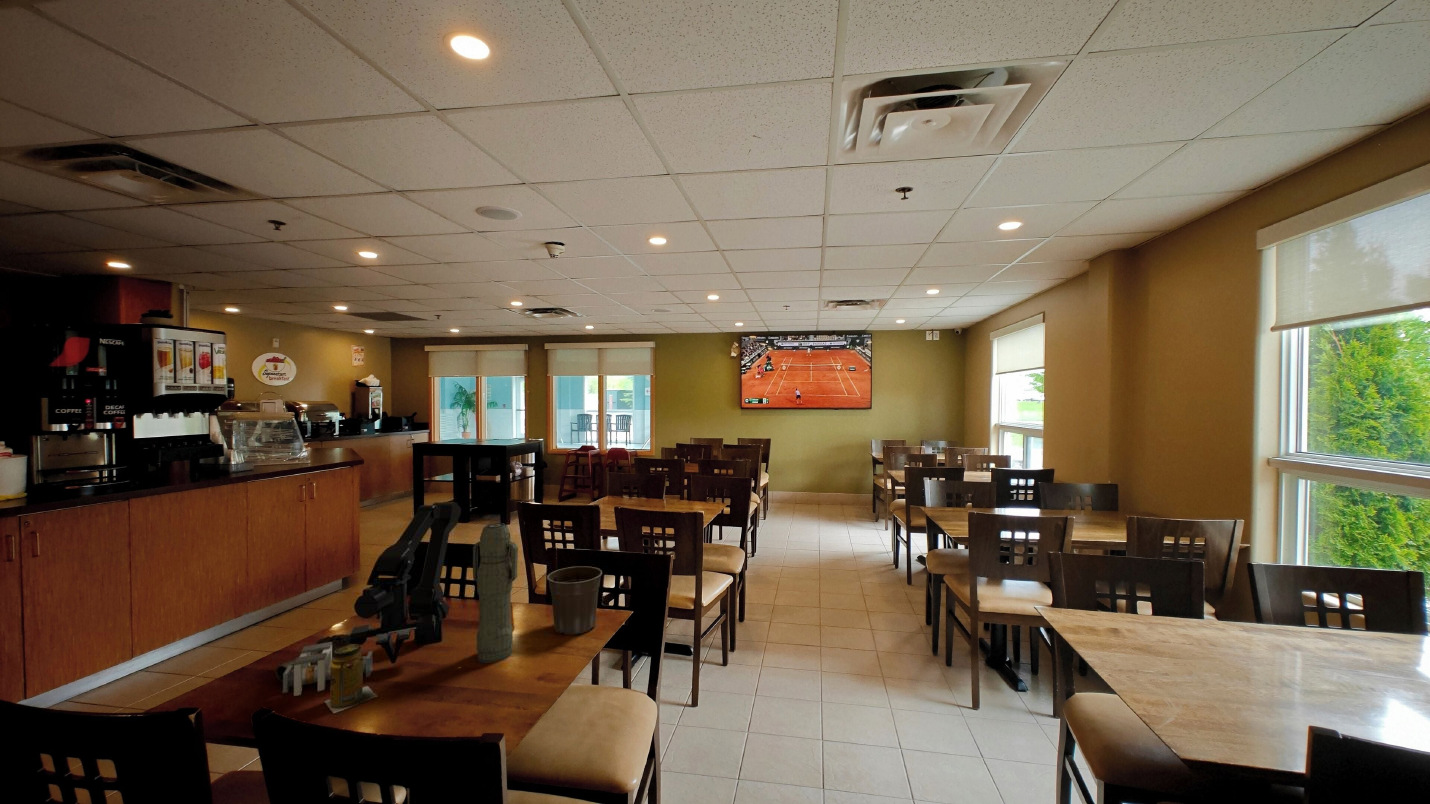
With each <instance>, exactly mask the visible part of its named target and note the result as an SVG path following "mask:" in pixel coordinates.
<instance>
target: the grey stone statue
mask: <svg viewBox="0 0 1430 804" xmlns="http://www.w3.org/2000/svg"><path fill="white" fill-rule="evenodd" d="M510 553H511V556H510ZM518 553H519V547H518V545H517V544H516V542H512V540H511V531H510V530H509V526H508V525H507V524H505V523H503V522H502V523H501V522H495V523H489V524H486V525H485V526H483V527H482V530H481V534H480V538H479V541H477V542H475V544H474V545H473V547H472V577H473V581H474V582H475V583H476V584H477V586H476V591H477V594H478V599H479V600H478V606H479V607H478V611H479V612H478V630H477V633H476V650H477V657H476V659H477V660H478V661H479V662H480V663H484V664H488V663H489V664H491V663H497V662H500V661H504V660H506V659H508V658H509V657H511V656H512V654H513V647H512V646H513V643H514V642H513V641H514V640H513V638H514V637H513V636H514V635H513V634H514V633H513V632H514V631H513V629H514V627H513V624H512V622H511V621H512V620H511V615H512V614H511V612H512V611H511V610H512V609H511V607H512V606H511V605H512V604H511V600H512V599H511V594H512V593H511V591H512V589H513V582H514V581H515V580H516V579H517V578H518V557H519V556H518V555H519V554H518ZM479 557H480V560H479Z"/></svg>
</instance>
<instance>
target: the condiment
mask: <svg viewBox="0 0 1430 804" xmlns="http://www.w3.org/2000/svg"><path fill="white" fill-rule="evenodd" d="M361 649H362V647H361V645H358V644H349V645H344V646H341V647H339V648H337V649H335V650H334V651H333V654H332V655H333V659H332V663H331V668H330V682H329V686H330V688H329V695H330V696H329V699H327V700H325V701H324V703H325V704H326V705H327V707H328V708H329V710H330V711H331V712H332V714H336V713H339V712H341V711H344V710H346V709H349V708H352V707H355V706H357V705H359V704H361V703H364V702H367V701H370V700H372V699H373V698H377V697H378V695H377V694H376V693H375V692H374V691H373V690H372V689H371V688H370V687H369V686H368V685H366V686H363V682H364V681H363V679H364V673H363V658H362V657H363V656H362V651H361Z"/></svg>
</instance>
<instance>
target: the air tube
mask: <svg viewBox="0 0 1430 804" xmlns="http://www.w3.org/2000/svg"><path fill="white" fill-rule="evenodd" d="M362 658H363V674H365V677H366V678H367V677H370V676H371V674H372V671H373V650H371V651H368V652H367V655H366V656H364V655H363V656H362ZM332 662H333V661H332ZM332 662H331V663H332ZM331 663H326V664H325V681H329V680H330V668H331ZM315 683H318V665H311V666H308V667H304V668H302V686H304V685H306V686H308V685H313V684H315ZM291 688H294V669H293V665H291V666H288V668H287V669H286V671H285V672H284V674H283V682H282V694H285V693H286V694H287V693H288V692H289V690H290V689H291Z"/></svg>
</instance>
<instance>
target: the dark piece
mask: <svg viewBox="0 0 1430 804" xmlns="http://www.w3.org/2000/svg"><path fill="white" fill-rule="evenodd" d="M349 634H350V633H348V634H333V635H331V636H330V635H329V636H326V637H324V638H323V637H322V638H320V639H319V640H318V641H317V642H316V643H315V644H314V645H316V644H322V643H328V642H332V654H333V651H334V650H335V649H337V648H339V647H341V646H344V645H348V636H349ZM322 652H323V650H320V651H314V652H310V655H315V654H321V653H322ZM297 658H298V657H296V658H293V659H291V660H289V661H287V662H285V663H282V664H280V665H277V667H276V669H275V676H276V679H278V682H281V683H283V674H284V672H285V671H286V669H287V668H288V666H291V665H293V669H294V663H295V661H296V659H297ZM332 659H333V655H332ZM311 665H318V661H316V662H310V666H311ZM302 668H303V666H302Z"/></svg>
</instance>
